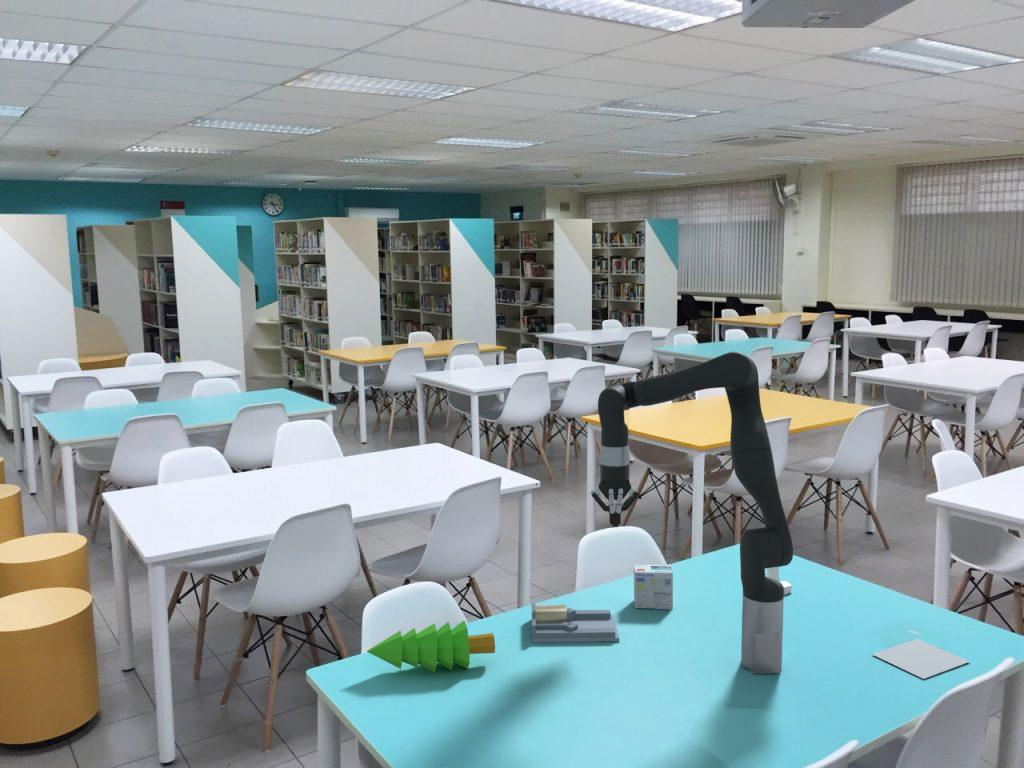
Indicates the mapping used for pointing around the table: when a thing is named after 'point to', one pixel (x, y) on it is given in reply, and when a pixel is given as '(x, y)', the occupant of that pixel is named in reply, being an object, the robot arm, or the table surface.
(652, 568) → the light bulb box
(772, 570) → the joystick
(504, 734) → the table surface
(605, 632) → the slot board
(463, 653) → the decorative tree
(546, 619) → the birch block
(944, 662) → the paper stack
